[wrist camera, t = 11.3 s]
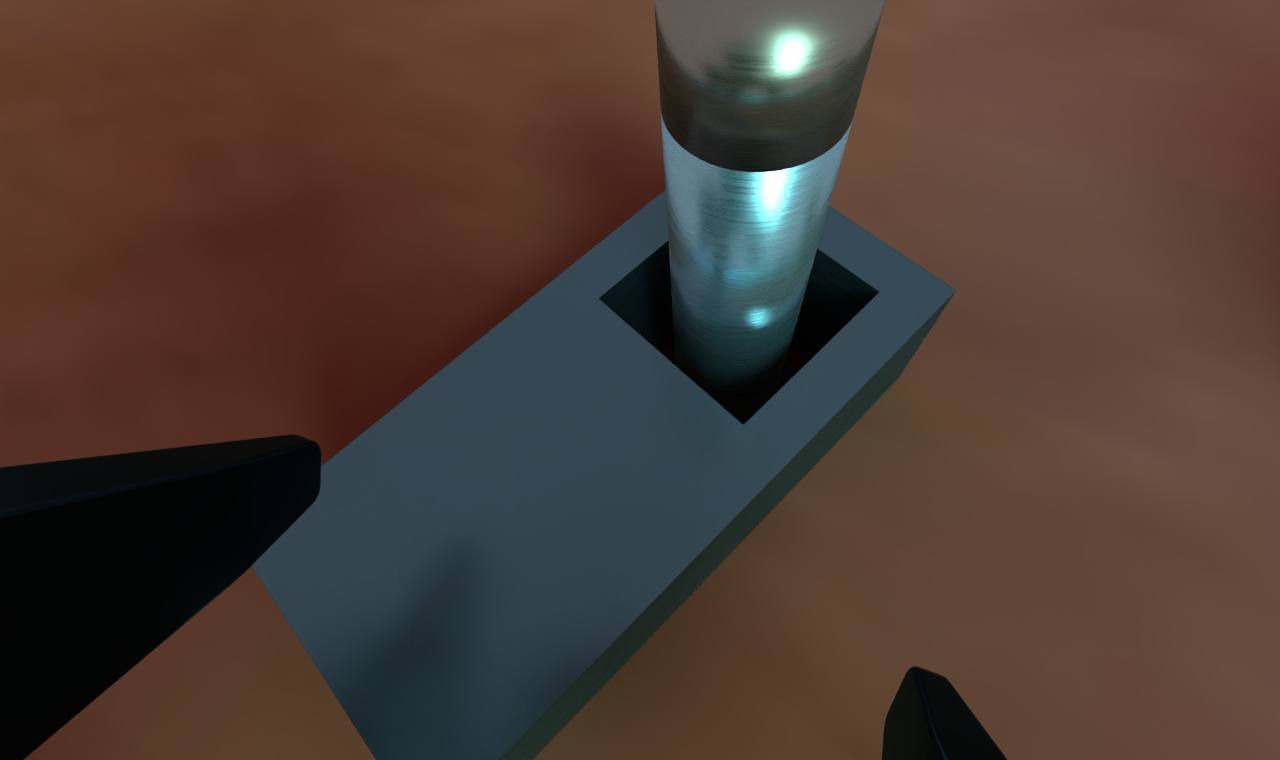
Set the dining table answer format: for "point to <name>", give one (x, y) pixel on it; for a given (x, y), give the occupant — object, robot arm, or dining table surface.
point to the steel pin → (751, 173)
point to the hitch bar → (567, 494)
